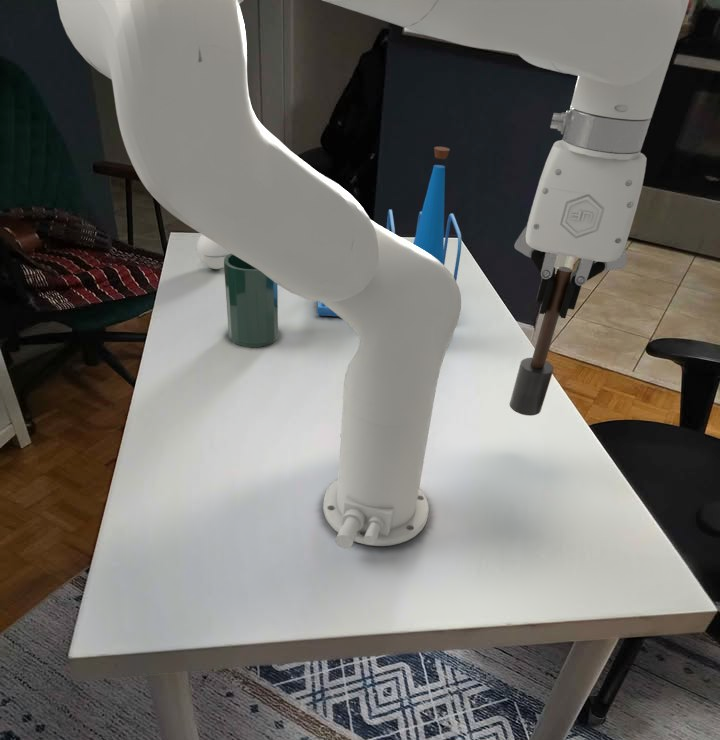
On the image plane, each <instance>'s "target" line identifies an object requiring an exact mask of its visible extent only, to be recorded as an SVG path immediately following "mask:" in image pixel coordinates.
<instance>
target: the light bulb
mask: <svg viewBox="0 0 720 740" xmlns="http://www.w3.org/2000/svg"><path fill="white" fill-rule="evenodd" d="M195 249H196V254H197V257H198V259H199V261H200V263H202V264H203V265H204V266H206V267H207V268H209V269H213V270H220V269H224V258H225V257H226V256H227V255H229V254H231V253H230V252H228V251H227V250H226V249H224V248H223V247H221V246H220V245H218V244H217V243H215V242H214V241H212V240H210V239H209V238H207V237H206V236H204V235H202V234H201V235H200V236H199V238H198V239H197V242H196V248H195Z"/></svg>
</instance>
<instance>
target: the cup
mask: <svg viewBox="0 0 720 740" xmlns="http://www.w3.org/2000/svg"><path fill="white" fill-rule="evenodd" d="M223 269H224V285H225V301H226V312H227V313H226V314H227V330H228V337H229V340H230V341H231V342H232V343H233V344H235V345H238V346H240V347H241V346H242V347H245V348H262V347H266V346H269V345H272V344H273V343H275V342H276V341H277V340H278V338H279V308H278V307H279V306H278V305H279V303H278V302H279V301H278V300H279V299H278V297H279V294H278V292H279V291H278V290H279V289H278V284H276V283H275V282H274V281H272V280H271V279H270V278H269V277H267V276H266V275H265V274H264V273H262V272H261V271H260V270H258V269H256V268H255V267H253V266H251V265H250V264H248V263H246V262H245V261H243V260H241V259H240V258H238V257H236V256H235V255H233V254H229V255H227V256H226V257H225V258H224V268H223Z"/></svg>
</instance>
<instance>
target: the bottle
mask: <svg viewBox="0 0 720 740" xmlns="http://www.w3.org/2000/svg"><path fill="white" fill-rule="evenodd" d="M433 149H434V151H433V152H434V158H435V159H439V160H445V159H447V158H448V155H449V153H450V148H448V147H446V146H435V147H434V148H433ZM445 185H446V166H445V165H441V164H434V165H433V168H432V171H431V175H430V178H429V182H428V185H427V186H428V187H427V190H426V195H425V198H424V202H423V205H422V208H421V212H422V213H421V217H420V220H419V224H418V228H417V227H416V231H417V232H416V231H415V237H414V240H413V243H412V244H414V245H415V246H417V247H419V248H421V249H422V250H424V251H426V252H427V253H429V254H430V255H432V256H433V257H435V258H436V259H438V260H439V261H440V262H441V263H442V264H443V254H444V243H445V194H446V193H445V190H446V189H445Z"/></svg>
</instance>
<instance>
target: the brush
mask: <svg viewBox="0 0 720 740" xmlns="http://www.w3.org/2000/svg"><path fill="white" fill-rule="evenodd" d="M572 273H573V270H572V268H571V267H567V266H559V267H557V268H556V271H555V274H556V276H555V283H554V287H553V290H552V294H551V297H550V301H549V304H548V308H547V312H546V314H545V313H544V314H543V318H542V322H541V325H540V329H539V333H538V337H537V340H536V343H535V347H534V351H533V354H532V357H525V358H523V359H522V360H521V361H520V364H519V367H518V370H517V375H516V379H515V383H514V384H513V385H514V386H513V389H512V393H511V397H510V400H509V407H510V408H511V410H512V411H514V413H517V414H519V415H523V416H528V417H529V416H531V417H532V416H537V415H539V414H540V413H541V411H542V408H543V405H544V402H545V399H546V396H547V392H548V389H549V385H550V382H551V379H552V376H553V373H554V365H553V364H552V363H550V362H549V361H548V360H547V357H548V354H549V351H550V347H551V344H552V341H553V337H554V333H555V330H556V327H557V324H558V321H559V317H560V316H559V313H560V310H561V306H562V303H563V299H564V296H565V293H566V289H567V286H568V283H569V280H570V277H571V275H572Z"/></svg>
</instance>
